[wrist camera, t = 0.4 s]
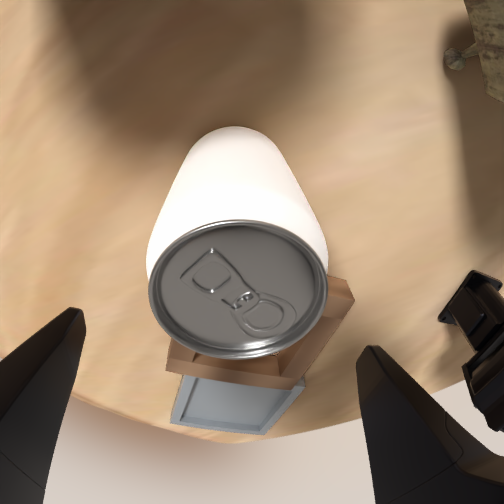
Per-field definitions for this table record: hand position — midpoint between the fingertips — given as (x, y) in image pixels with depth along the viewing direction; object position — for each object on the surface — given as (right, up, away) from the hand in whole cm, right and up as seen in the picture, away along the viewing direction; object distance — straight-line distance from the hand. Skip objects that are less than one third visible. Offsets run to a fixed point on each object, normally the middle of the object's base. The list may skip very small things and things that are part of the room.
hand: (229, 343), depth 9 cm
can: (0, +8, +11) cm, 13 cm away
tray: (-2, -14, +24) cm, 28 cm away
